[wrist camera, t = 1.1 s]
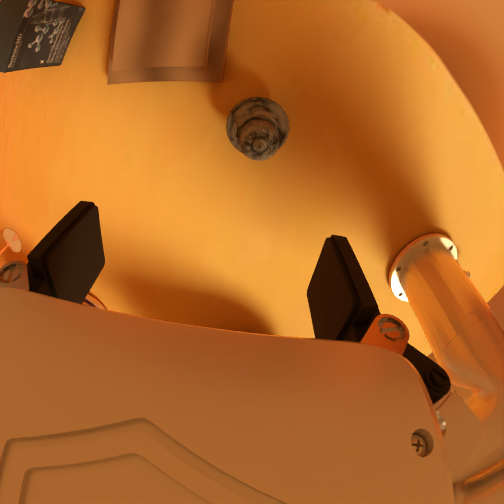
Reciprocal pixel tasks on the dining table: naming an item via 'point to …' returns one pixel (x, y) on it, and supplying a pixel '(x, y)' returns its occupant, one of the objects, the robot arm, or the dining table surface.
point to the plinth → (169, 40)
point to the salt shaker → (257, 128)
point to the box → (35, 32)
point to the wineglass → (11, 241)
